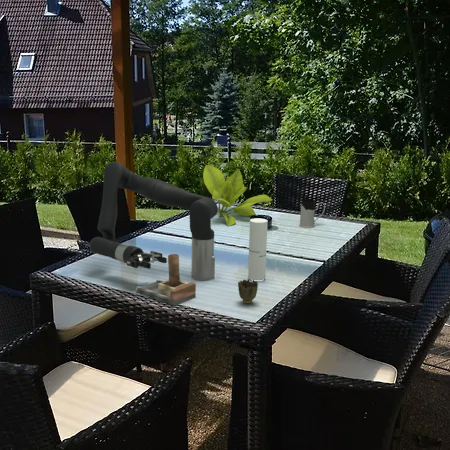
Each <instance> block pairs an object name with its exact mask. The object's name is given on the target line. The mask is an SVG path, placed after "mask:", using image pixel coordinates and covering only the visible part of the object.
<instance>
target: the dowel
mask: <svg viewBox="0 0 450 450" xmlns="http://www.w3.org/2000/svg"><path fill="white" fill-rule="evenodd" d="M167 263H168V264H167V265H168V280H169V286H171V287H176V286H179V285H180V281H181V277H180V272H181V271H180V255H179V254H176V253H172V254H171V253H170V254H168V255H167Z"/></svg>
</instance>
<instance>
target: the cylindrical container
mask: <svg viewBox="0 0 450 450" xmlns="http://www.w3.org/2000/svg"><path fill="white" fill-rule="evenodd" d="M248 236H249V238H248V239H249V241H248V265H247V267H248V269H247V270H248V272H247V279H248V278H249V279H252V280H263V279H265V280H266V270H267V269H266V268H267V266H266V265H267V249H268V248H267V246H268V245H267V243H268V220H267V219H265V218H258V217H257V218H256V217H255V218H250V220H249V235H248ZM249 279H248V280H249Z"/></svg>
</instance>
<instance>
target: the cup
mask: <svg viewBox="0 0 450 450" xmlns="http://www.w3.org/2000/svg"><path fill="white" fill-rule="evenodd" d="M237 285H238V286H237V287H238V294H239V297H240V299H242V304H245V305H251V304H253V300H254V299H256V296H257V293H258V289H259V283H258V282H257V281H254V280H253V281H250V280H249V279H247V280H246V279H243V280H240V281H238V282H237Z"/></svg>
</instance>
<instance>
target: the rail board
mask: <svg viewBox="0 0 450 450" xmlns="http://www.w3.org/2000/svg"><path fill="white" fill-rule="evenodd" d="M162 282H164V280H161V279H156V280H155V282H151V283H149V284H146V285H144V286H139V285H138V286H136V294H139V295H143V296H146V297H148V298H150V299H154V300H156V301H159V302H162V303H164V302H165V303H164V304H167V303H168V305H170V306H174V307H176V306H178V305H181V304H182V303H185V302H187V301H189V300H192V299H194V298H196V295H197V294H196V293H197V292H196V289H197V286H196V285H197V283H195V282H192V281H191V282H187V283H188V284H186V285H183V286H181V287H178V288H176V289H173V290H170V297H168V296H165V295H162V294H159V293H158V284H159V283H162ZM175 305H176V306H175Z"/></svg>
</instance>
